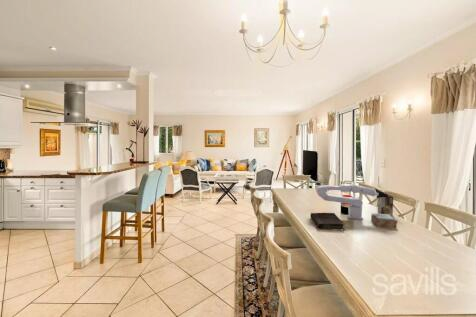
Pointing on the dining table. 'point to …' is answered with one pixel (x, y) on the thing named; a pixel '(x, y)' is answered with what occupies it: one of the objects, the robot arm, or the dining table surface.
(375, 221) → the wooden box
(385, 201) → the coffee box
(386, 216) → the cover plate
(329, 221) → the diary
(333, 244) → the dining table surface
